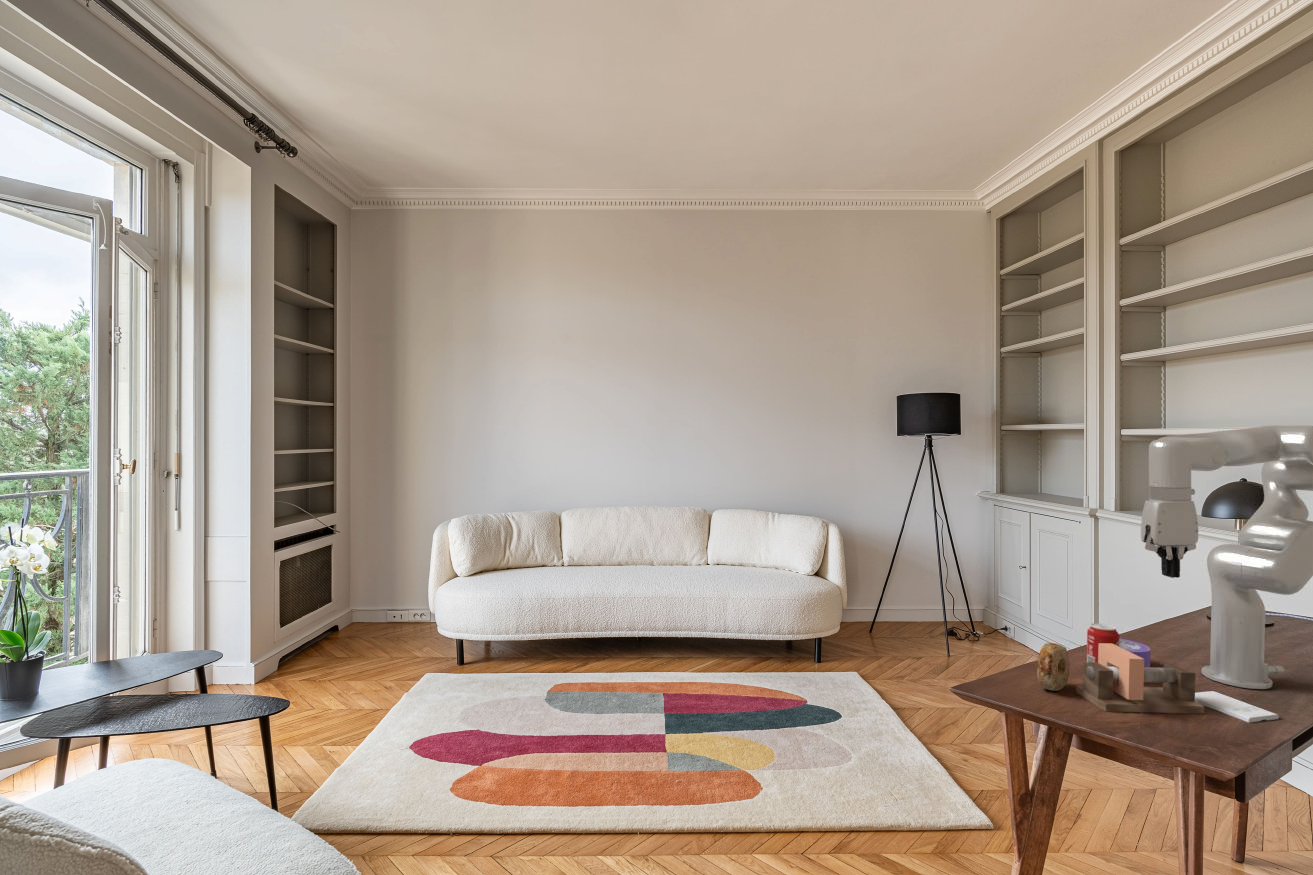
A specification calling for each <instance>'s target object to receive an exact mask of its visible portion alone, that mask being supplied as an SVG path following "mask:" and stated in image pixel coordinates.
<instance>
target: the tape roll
mask: <svg viewBox="0 0 1313 875" xmlns="http://www.w3.org/2000/svg"><path fill="white" fill-rule="evenodd" d="M1119 647H1120V648H1122V649H1125V650H1127V651H1129V652H1131V653H1133V654H1135V655H1137V656H1139V657H1141V658H1143V659H1144V667H1151V648H1150V647H1149V646H1148V645H1146V644H1145V643H1140V642H1138V641H1133V640H1130V639H1124V638H1119Z"/></svg>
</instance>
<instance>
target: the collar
mask: <svg viewBox="0 0 1313 875" xmlns="http://www.w3.org/2000/svg"><path fill="white" fill-rule="evenodd" d="M1098 663H1099V664H1101V665H1103V666H1105V667H1118V668H1119V682H1114V681H1113V691H1114V692H1116V693H1118V694H1120V695H1121V696H1123V697H1125V698H1126V699H1128V700H1143V689H1144V687H1145V686H1144V683H1145V682H1144V659H1143V658H1141V657H1139V656H1137V655H1135V654H1133V653H1131V652H1129V651H1127V650H1125V649H1122V648H1120V647H1118V646H1116V645H1114V644H1109V643H1099V645H1098Z"/></svg>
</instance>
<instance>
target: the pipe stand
mask: <svg viewBox="0 0 1313 875" xmlns="http://www.w3.org/2000/svg"><path fill="white" fill-rule="evenodd" d="M1113 681H1114V682H1119V668H1118V667H1105V666H1103V665H1101V664H1099V663H1087V662H1083V685H1076V688H1075V690H1076V692H1075V693H1077V694H1078V695H1080V697H1082V698H1084V699H1086V700H1087V701H1089V702H1090V703H1092V704H1093V705H1095V706H1097V707H1098V708H1100V709H1102V710H1103V711H1105V712H1114V713H1115V712H1116V713H1118V712H1120V713H1122V712H1123V713H1126V712H1127V713H1159V714H1160V713H1163V714H1164V713H1166V714H1205V706H1204V705H1202V704H1199V703H1197V702H1195V693H1196V672H1194V671H1192V670H1190V669H1187V668H1186V667H1184V666H1181V665H1179V664H1176V663H1175V664H1173V663H1172V664H1170V663H1169V664H1168V663H1163V665H1162V667H1151V666H1150V667H1144V683H1161V684H1162V687H1160V686H1159V687H1156V686H1155V687H1154V686H1153V687H1152V686H1151V687H1150V686H1144V689H1143V700H1128V699H1126V698H1125V697H1123V696H1121V695H1120V694H1118V693H1116V692H1114V691H1113Z"/></svg>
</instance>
